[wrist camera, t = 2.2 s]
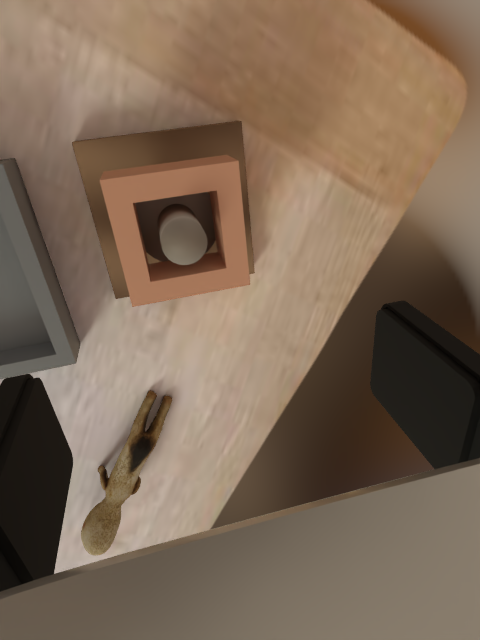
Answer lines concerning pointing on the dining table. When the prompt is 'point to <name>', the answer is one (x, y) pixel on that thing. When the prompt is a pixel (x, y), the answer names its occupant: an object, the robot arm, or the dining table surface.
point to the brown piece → (168, 213)
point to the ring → (175, 181)
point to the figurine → (123, 478)
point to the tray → (29, 289)
